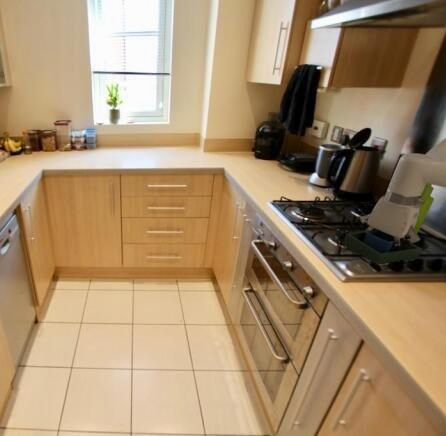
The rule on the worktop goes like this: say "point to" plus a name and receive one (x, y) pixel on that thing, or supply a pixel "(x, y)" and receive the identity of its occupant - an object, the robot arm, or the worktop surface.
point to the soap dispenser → (424, 206)
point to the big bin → (356, 245)
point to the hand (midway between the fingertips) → (378, 248)
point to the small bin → (379, 241)
